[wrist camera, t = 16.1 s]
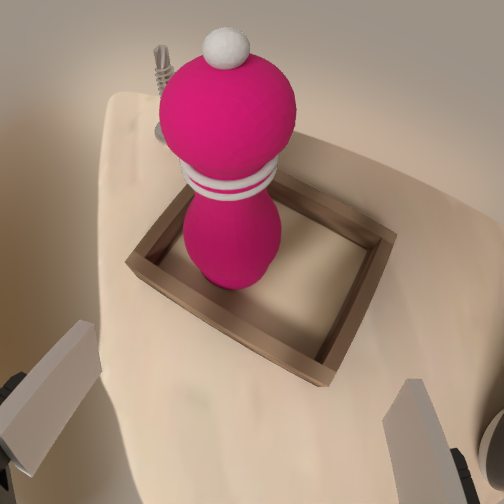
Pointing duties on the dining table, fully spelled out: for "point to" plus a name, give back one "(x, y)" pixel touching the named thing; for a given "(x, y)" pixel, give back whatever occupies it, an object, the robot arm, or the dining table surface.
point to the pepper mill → (229, 155)
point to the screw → (162, 79)
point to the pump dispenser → (493, 453)
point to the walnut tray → (281, 279)
